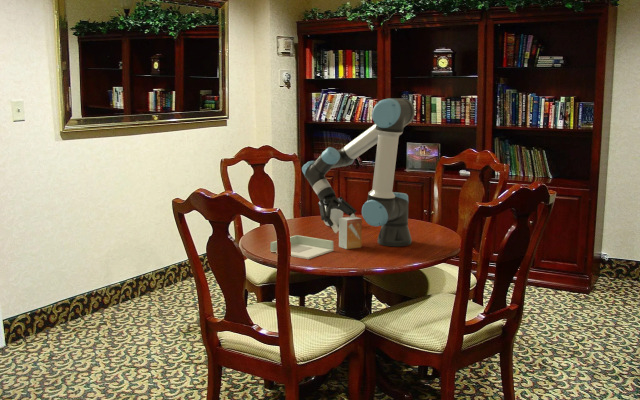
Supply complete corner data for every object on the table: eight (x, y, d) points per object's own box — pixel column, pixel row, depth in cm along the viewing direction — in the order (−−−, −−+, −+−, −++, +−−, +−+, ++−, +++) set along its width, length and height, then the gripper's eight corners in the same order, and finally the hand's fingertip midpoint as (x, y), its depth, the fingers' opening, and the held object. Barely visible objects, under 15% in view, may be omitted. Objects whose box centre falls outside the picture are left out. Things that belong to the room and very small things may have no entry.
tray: (333, 250, 287) (333, 240, 286) (308, 259, 273) (308, 249, 272) (296, 244, 299) (296, 235, 298) (270, 252, 284) (270, 242, 283)
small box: (346, 249, 289) (347, 220, 287) (338, 246, 294) (338, 217, 292) (361, 247, 293) (362, 218, 291) (353, 244, 299) (353, 215, 296)
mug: (333, 229, 329) (333, 203, 327) (314, 227, 335) (314, 201, 333) (347, 224, 342) (347, 199, 340) (328, 222, 348) (328, 197, 345)
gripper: (339, 193, 312) (363, 229, 304) (299, 199, 295) (323, 238, 287) (347, 183, 307) (371, 220, 299) (308, 189, 290) (332, 228, 282)
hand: (348, 229), depth 293 cm, fingers open, 13 cm apart
